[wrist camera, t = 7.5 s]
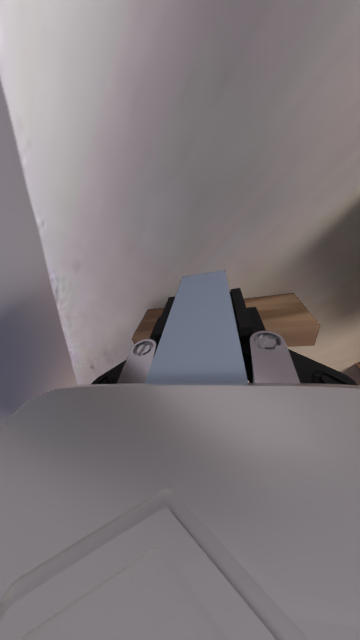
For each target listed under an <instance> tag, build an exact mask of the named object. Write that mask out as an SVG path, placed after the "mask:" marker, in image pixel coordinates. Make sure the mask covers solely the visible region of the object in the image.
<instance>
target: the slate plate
mask: <svg viewBox="0 0 360 640" xmlns="http://www.w3.org/2000/svg"><path fill="white" fill-rule="evenodd" d="M145 383H248V380H247V375H246V370H245V365H244V360H243V355H242V350H241V346H240V341H239V336H238V331H237V326H236V321H235V316H234V311H233V307H232V302H231V297H230V292H229V287H228V282H227V277H226V273H225V270H223V271H216V272H210V273H204V274H197V275H191V276H185V277H182V280H181V283H180V285H179V288H178V291H177V294H176V297H175V299H174V302H173V305H172V308H171V311H170V313H169V316H168V319H167V322H166V325H165V328H164V330H163V333H162V336H161V339H160V342H159V344H158V347H157V350H156V353H155V356H154V359H153V361H152V364H151V367H150V370H149V373H148V375H147V378H146V381H145Z"/></svg>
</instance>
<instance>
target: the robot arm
mask: <svg viewBox="0 0 360 640" xmlns="http://www.w3.org/2000/svg"><path fill="white" fill-rule="evenodd" d="M175 297H176V296H175ZM175 297H169V298H168V301H167V303H166V305H165V308H164V310H163V313H162V315H161V317H158V319H157V322H156V324H155V326H154V328H153V331H152V333H151V335H150V338H149V339H145V340H141V341H139V342H137V343H136V344H135V345H134V346H133V347H132V348H131V350H130V352H129V355H128V357H127V360H125V361H124V362H122V363H121V364H119V365H117V366H116V367H114V368H113V369H111V370H109V371H108V372H106V373H104V374H103V375H101V376H100V377H98V378H97V379H96V380H95V381H94V382H93V383H92V384H91V385H76V386H69V387H63V388H60V389H55V390H52V391H49V392H47V393H44V394H41V395H39V396H37V397H35V398H33V399H31V400H30V401H28V402H26V403H25V404H24V405H23V406H21V407H20V408H19V409H18V410H17V411H16V412H15V413H14V414H13V415H12V416H11V417H10V418H9V419H8V420H7V421H6V422H5V423H4V424H3V425H2V426H1V427H0V640H360V385H357V384H356V383H355V382H354V381H353V380H352V379H351V378H350V377H348V376H346V375H345V374H343V373H341V372H339V371H336V370H334V369H332V368H330V367H327V366H325V365H323V364H321V363H318V362H316V361H314V360H312V359H309V358H307V357H305V356H303V355H300V354H298V353H296V352H294V351H291V350H289V349H288V347H287V345H286V342H285V340H284V338H283V337H282V336H281V335H279V334H277V333H275V332H271V331H266V329H265V327H264V325H263V322H262V320H261V317H260V315H259V313H258V310H257V308H256V307H248V308H246V305H245V302H244V299H243V296H242V293H241V290H240V288H236V289H231V292H230V297H231V302H232V307H233V311H234V316H235V321H236V326H237V331H238V336H239V341H240V346H241V350H242V355H243V360H244V365H245V370H246V375H247V380H249V383H145V381H146V378H147V375H148V373H149V370H150V367H151V364H152V361H153V359H154V356H155V353H156V350H157V347H158V344H159V342H160V339H161V336H162V333H163V330H164V328H165V325H166V322H167V319H168V316H169V313H170V311H171V308H172V305H173V302H174V299H175Z"/></svg>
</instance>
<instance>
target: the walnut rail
mask: <svg viewBox="0 0 360 640" xmlns="http://www.w3.org/2000/svg"><path fill="white" fill-rule="evenodd" d="M244 302H245V305H246V308H248V307H256V308H257V310H258V313H259V315H260V317H261V320H262V322H263V325H264V327H265V329H266V331H271V332H275V333H277V334H279V335H281V336H282V337H283V338H284V340H285V342H286V345H287V347H290V346H312V345H315V342H316V338H317V335H318V332H319V328H320V324H319V323H318V321H317V320H316V319H315V318H314V317H313V316H312V314H311V313H310V312H309V311H308V310H307V309H306V307H305V306H304V305H303V304H302V303H301V302H300V300H299V299H298V298H297V297H296V296H295V294H294V293H291V294H282V295H273V296H264V297H255V298H247V299H244ZM163 310H164V308H159V309H150V310H147V312H146V314H145V316H144V317H143V319H142V321H141V323H140V325H139V326H138V328H137V330H136V332H135V333H134V335H133V337H132V340H133V342H134V344H136V343H137V342H139V341H141V340H145V339H149V338H150V335H151V333H152V331H153V328H154V326H155V324H156V322H157V319H158V317H161V315H162V313H163Z"/></svg>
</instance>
